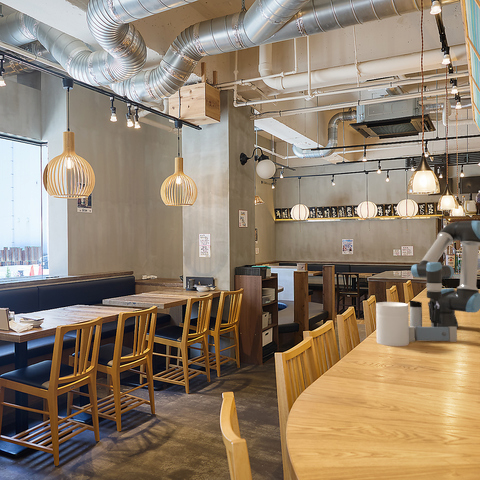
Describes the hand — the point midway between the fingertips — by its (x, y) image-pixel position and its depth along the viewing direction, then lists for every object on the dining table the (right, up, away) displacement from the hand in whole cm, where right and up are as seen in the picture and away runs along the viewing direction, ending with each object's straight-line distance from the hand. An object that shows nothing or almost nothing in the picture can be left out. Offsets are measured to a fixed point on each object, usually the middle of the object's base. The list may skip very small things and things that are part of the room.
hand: (434, 334), depth 240 cm
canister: (-26, -3, -9) cm, 27 cm away
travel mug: (-9, -2, +4) cm, 10 cm away
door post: (-15, -2, -6) cm, 16 cm away
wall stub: (+6, -2, -7) cm, 10 cm away
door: (-5, -2, -7) cm, 9 cm away
